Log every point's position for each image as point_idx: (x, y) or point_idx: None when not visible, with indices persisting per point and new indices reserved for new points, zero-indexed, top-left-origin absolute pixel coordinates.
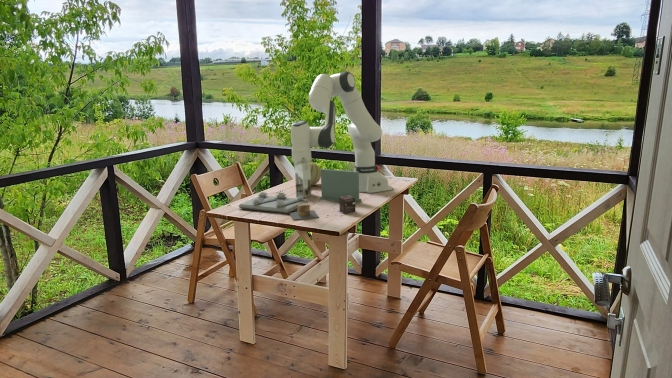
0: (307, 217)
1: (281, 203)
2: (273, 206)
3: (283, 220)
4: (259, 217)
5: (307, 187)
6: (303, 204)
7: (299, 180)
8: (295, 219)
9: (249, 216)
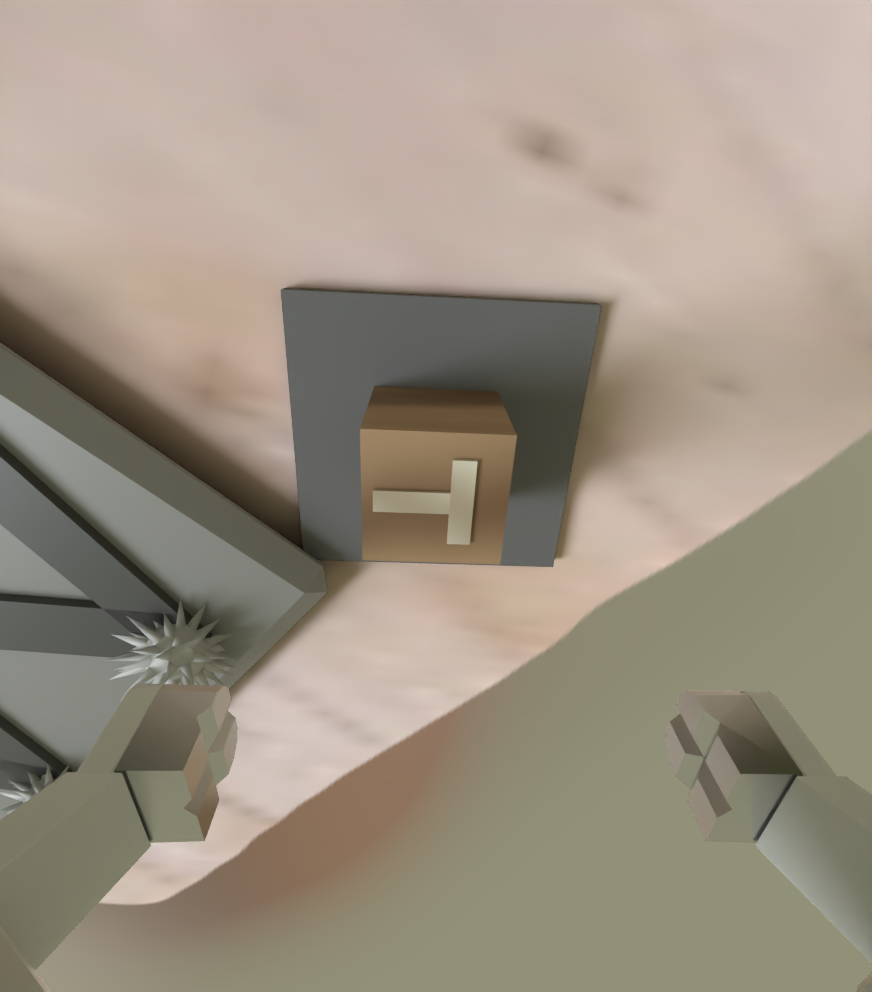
0: (560, 436)
1: (196, 662)
2: None
3: (500, 625)
4: (338, 747)
5: (777, 701)
6: (457, 505)
7: (165, 841)
8: (555, 549)
9: (288, 790)
